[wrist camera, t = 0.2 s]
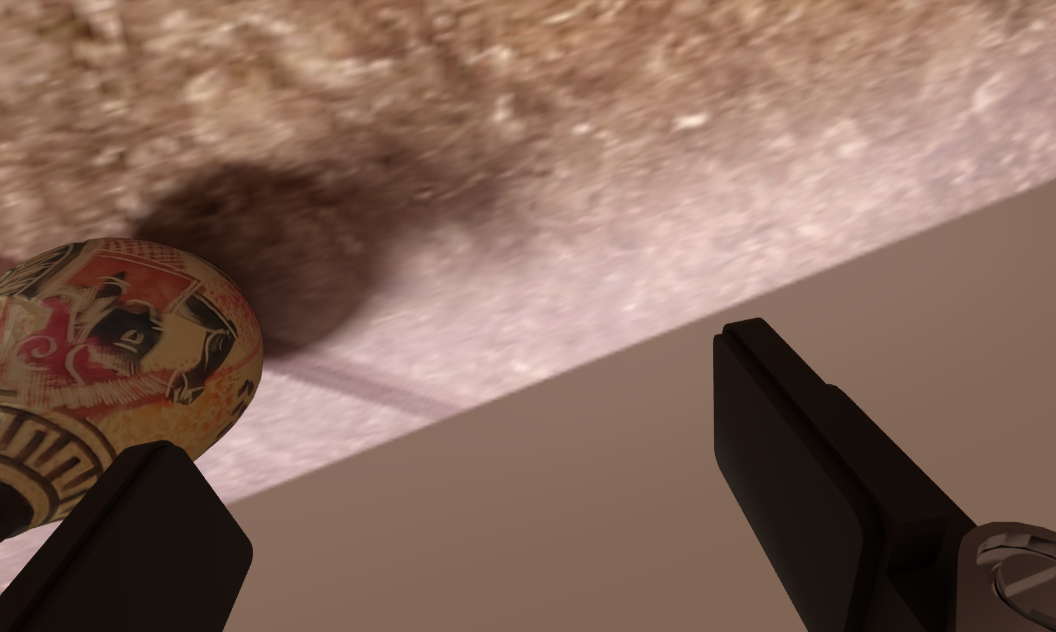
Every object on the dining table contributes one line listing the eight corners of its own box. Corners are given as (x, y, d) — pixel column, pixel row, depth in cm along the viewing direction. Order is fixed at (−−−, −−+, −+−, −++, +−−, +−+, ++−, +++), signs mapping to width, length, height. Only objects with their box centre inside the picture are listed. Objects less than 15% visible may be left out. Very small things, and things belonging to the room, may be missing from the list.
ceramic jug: (328, 281, 41) (63, 731, 15) (243, 407, 46) (-62, 903, 20) (95, 145, 35) (-1066, 509, 9) (28, 309, 40) (-820, 842, 14)
